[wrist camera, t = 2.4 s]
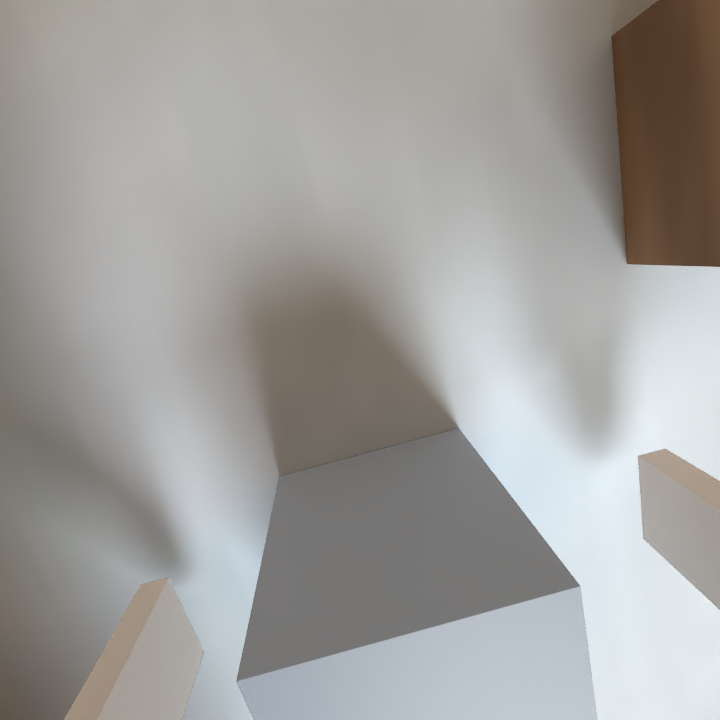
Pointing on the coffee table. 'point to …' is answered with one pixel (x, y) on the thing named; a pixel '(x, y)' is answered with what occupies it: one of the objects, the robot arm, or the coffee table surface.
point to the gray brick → (412, 597)
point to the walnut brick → (670, 132)
